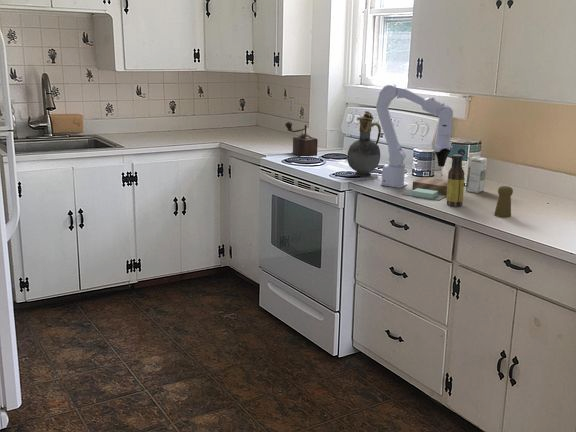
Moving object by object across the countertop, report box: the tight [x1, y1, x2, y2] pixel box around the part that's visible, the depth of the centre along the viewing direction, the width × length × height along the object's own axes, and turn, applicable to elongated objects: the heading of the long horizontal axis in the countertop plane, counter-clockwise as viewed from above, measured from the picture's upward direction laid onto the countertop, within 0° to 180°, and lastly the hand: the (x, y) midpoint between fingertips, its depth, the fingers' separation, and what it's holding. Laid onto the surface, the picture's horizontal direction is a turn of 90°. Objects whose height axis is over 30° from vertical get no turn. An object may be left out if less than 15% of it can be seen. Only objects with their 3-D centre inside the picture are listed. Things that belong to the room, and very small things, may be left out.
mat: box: [401, 189, 447, 201], centre depth 265 cm, size 16×9×1 cm, turn 56°
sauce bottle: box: [446, 153, 465, 208], centre depth 247 cm, size 6×6×20 cm
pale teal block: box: [411, 188, 438, 200], centre depth 263 cm, size 9×6×2 cm, turn 57°
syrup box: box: [465, 156, 488, 194], centre depth 272 cm, size 6×6×14 cm
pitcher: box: [346, 110, 382, 178], centre depth 299 cm, size 11×19×30 cm, turn 133°
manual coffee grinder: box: [285, 121, 318, 157], centre depth 349 cm, size 16×11×18 cm
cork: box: [493, 185, 514, 219], centre depth 235 cm, size 6×6×11 cm
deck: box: [411, 176, 448, 197], centre depth 273 cm, size 15×12×4 cm
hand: (441, 166), depth 275 cm, fingers closed
